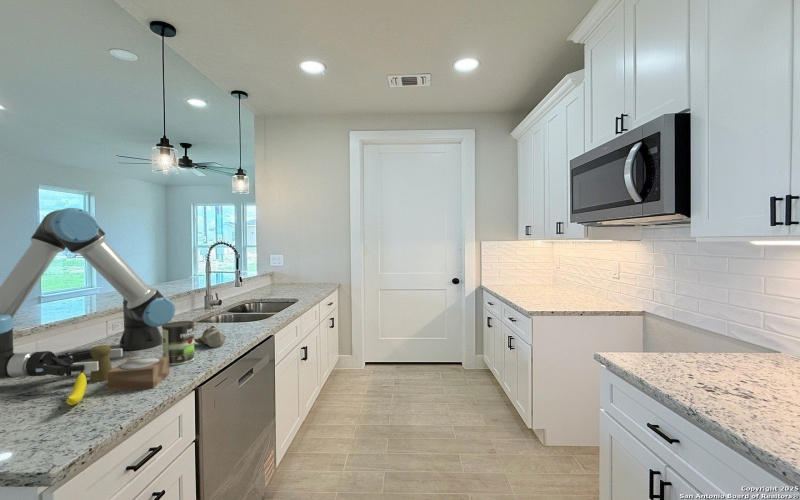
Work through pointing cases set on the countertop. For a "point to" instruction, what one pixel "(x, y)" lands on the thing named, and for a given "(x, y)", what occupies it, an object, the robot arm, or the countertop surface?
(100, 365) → the cork
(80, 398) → the banana
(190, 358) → the coffee can
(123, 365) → the walnut plinth
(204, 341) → the ceramic sculpture
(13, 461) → the countertop surface
